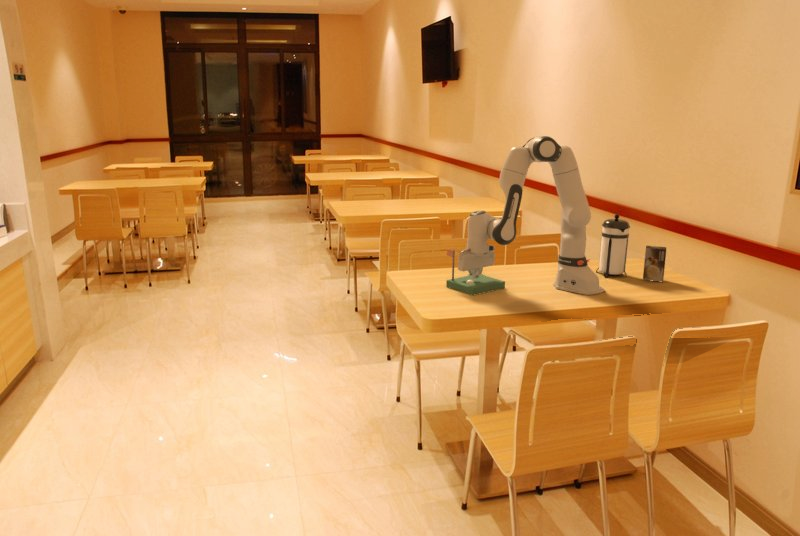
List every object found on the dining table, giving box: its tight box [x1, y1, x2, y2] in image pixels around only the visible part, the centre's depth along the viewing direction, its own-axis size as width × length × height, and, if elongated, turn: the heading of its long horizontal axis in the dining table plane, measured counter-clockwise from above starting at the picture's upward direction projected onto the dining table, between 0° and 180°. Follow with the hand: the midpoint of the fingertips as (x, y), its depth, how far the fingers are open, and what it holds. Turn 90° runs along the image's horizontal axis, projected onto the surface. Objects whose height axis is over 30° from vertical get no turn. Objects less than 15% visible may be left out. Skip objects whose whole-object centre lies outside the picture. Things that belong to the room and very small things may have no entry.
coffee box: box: [642, 245, 667, 282], centre depth 292 cm, size 9×6×16 cm
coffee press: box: [595, 214, 631, 279], centre depth 301 cm, size 17×16×30 cm
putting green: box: [445, 248, 506, 296], centre depth 277 cm, size 19×20×17 cm
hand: (475, 277), depth 277 cm, fingers closed
